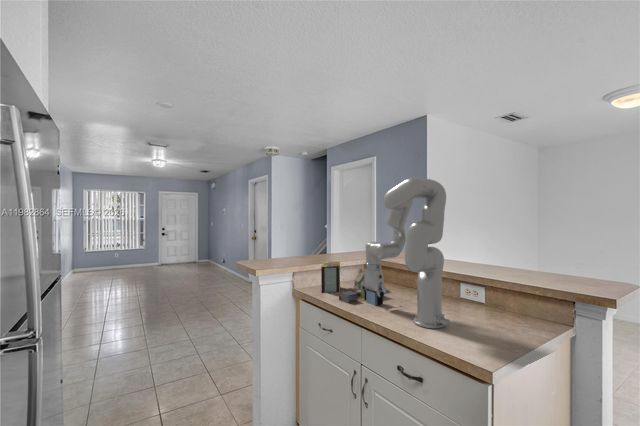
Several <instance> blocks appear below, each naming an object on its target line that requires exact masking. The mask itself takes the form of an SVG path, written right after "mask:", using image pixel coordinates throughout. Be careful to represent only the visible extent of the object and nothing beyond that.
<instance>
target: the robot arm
mask: <svg viewBox="0 0 640 426" xmlns="http://www.w3.org/2000/svg"><path fill="white" fill-rule="evenodd" d="M415 199H416V200H417V199H418V200H426V201H425V203H424V205H423V206H422V212H421V215H422V216H421V219H420V221H419V220H417V221H415V222H413V223H411V224H410V225H409V227H408V229H407V232H406V231H405V225H406V222H407V220H408V217H409V214H410V212H411V210H412V207H413V203H414V200H415ZM446 203H447V192H446V189H445V187H444V186H443V185H442V184H441V183H440V182H439V181H436V180H434V179H431V178H423V177H409V178H407V179H404V180H403V181H402V182H400V183H398V184H397V185H395V186H393V188H391V189H389V190H388V191H387V192H386V193H385V195H384V197H383V205H384V207H385V208H386V209H387V210H389V212H388V214H387V217H386V220H385V222H386V224H387V225H388V226H389V227H391V228H392V230H393V235H392V238H391V241H390V242H382V243H381V242H378V241H368V242H366V243H365V269H364V273H365V275H364V281H363V282H361V284H362V286H363V287H362V288H363V290H364V292H365V300H366V291H367V290H372V291H376V292H377V294H378V297H377V304H378V305H377V306H380V305H383V304H384V297H385V294H386V293H387V291H388V289H387V287H386V286H385V278H384V273H383V270H382V268H383V267H382V260H387V259H393V258H397V257H399V255H401V253H402V251H403V249H405V250H404V251H405V252H404V262H405V265H406V267H407V269H408V270H409V271H411V272H412V273H417V274H418V275H417V278H416V279H417V281H416V284H417V286H416V289H417V290H416V292H417V293H416V296H417V297H416V300H417V301H416V302H417V303H416V304H417V305H416V306H417V311H416V312H417V314H416V315H417V316H416V315H415V317H414V318H413V323H414V324H415V325H417V326H419V327H422V328H426V329H442V328H445V327H449V326H450V323H451V319H449V318H446V317H445V313H443V309H442V308H443V303H442V302H443V299H442V297H443V295H442V294H443V293H442V292H443V291H442V289H443V285H442V284H443V282H442V281H443V269H444V265H445V257H444V254H443V252H442V251H441V250H440V249H439V248H437V247H435V246H428V245H434V244H437V243H440V242H441V240H442V239H443V234H444V223H445V211H446V210H445V209H446V205H447V204H446ZM404 246H405V248H404ZM379 292H380V293H379ZM383 296H384V297H383Z"/></svg>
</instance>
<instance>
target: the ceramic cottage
mask: <svg viewBox="0 0 640 426" xmlns="http://www.w3.org/2000/svg"><path fill="white" fill-rule="evenodd" d="M364 275H365V272H363V269H362V268H358V274H357V276H356V277H355V278H354V280H353V282H354V285H353V290H356V291H361V282H363V281H364Z"/></svg>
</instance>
